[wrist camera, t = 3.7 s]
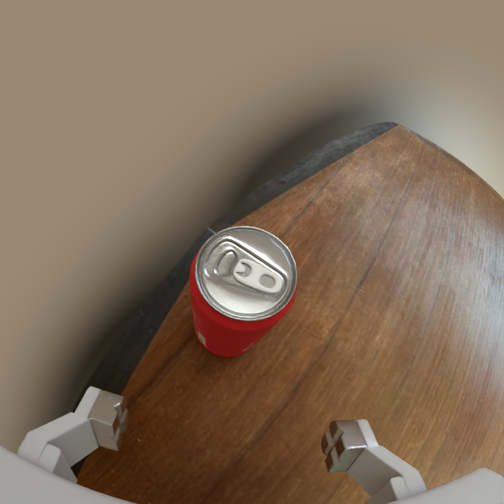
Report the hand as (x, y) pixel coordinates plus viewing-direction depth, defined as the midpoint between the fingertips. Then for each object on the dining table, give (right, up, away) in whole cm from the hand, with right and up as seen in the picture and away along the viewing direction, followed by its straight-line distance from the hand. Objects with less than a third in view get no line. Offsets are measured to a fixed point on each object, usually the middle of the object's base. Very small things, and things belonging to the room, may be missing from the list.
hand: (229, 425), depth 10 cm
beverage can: (-1, 0, +14) cm, 14 cm away
